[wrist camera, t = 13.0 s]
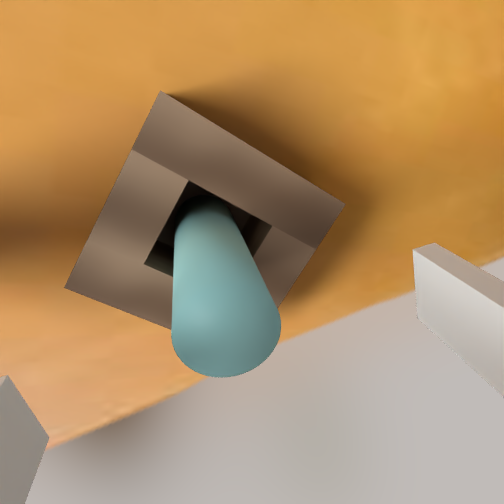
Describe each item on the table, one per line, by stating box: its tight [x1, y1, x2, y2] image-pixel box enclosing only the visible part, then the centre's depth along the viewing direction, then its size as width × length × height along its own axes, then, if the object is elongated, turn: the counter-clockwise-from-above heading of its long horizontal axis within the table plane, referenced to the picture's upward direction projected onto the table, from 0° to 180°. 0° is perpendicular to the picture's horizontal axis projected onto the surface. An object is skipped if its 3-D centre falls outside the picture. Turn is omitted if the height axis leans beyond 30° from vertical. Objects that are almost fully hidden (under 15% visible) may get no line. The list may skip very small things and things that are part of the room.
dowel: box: [171, 195, 281, 377], centre depth 20 cm, size 4×4×14 cm
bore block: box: [64, 91, 345, 330], centre depth 25 cm, size 12×12×6 cm
